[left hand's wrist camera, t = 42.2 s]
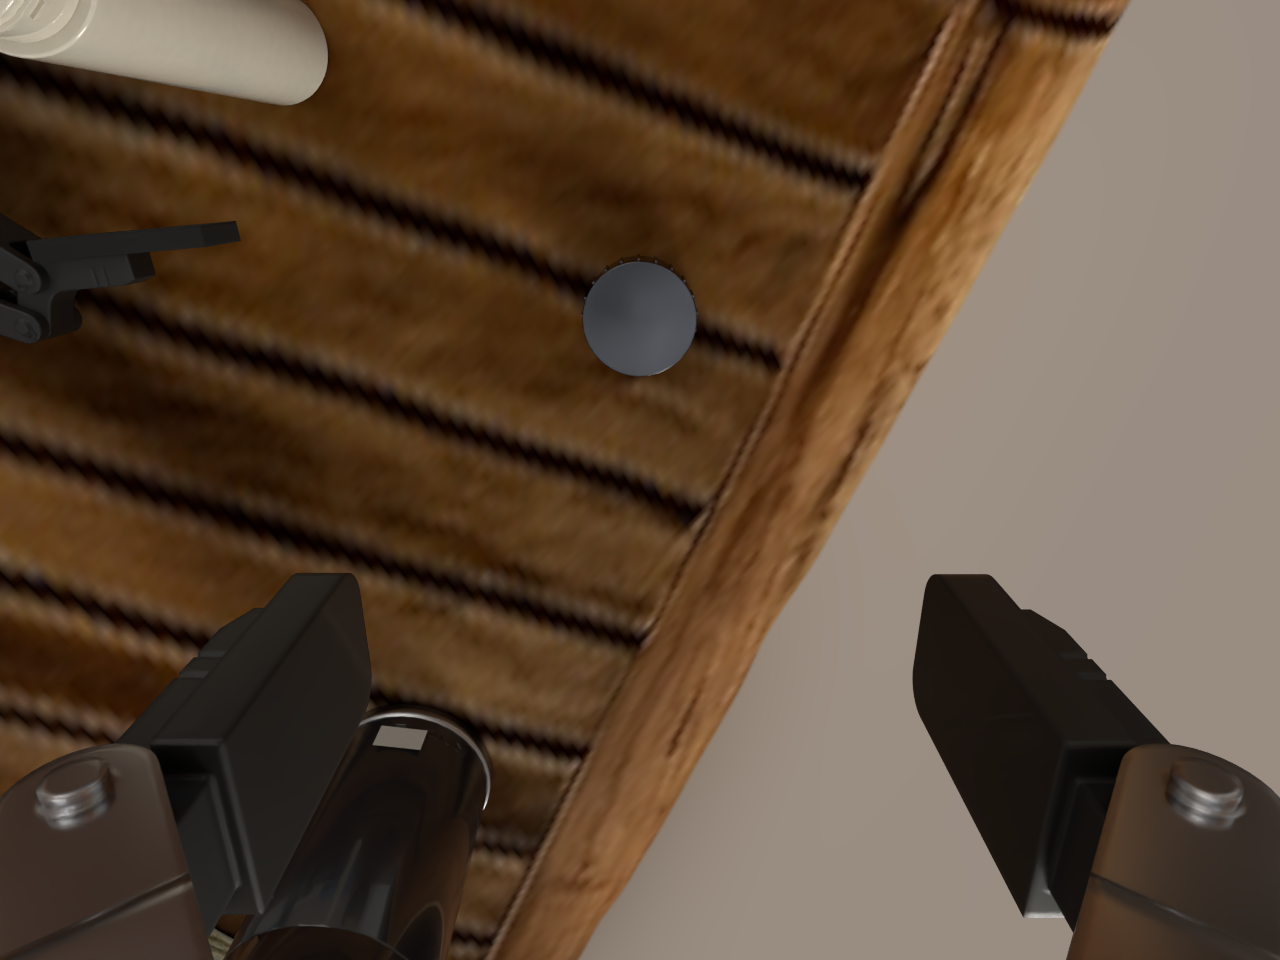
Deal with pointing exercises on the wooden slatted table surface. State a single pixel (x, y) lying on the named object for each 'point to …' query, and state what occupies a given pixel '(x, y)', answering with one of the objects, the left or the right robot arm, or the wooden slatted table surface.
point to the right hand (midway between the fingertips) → (168, 30)
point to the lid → (639, 316)
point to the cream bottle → (177, 43)
